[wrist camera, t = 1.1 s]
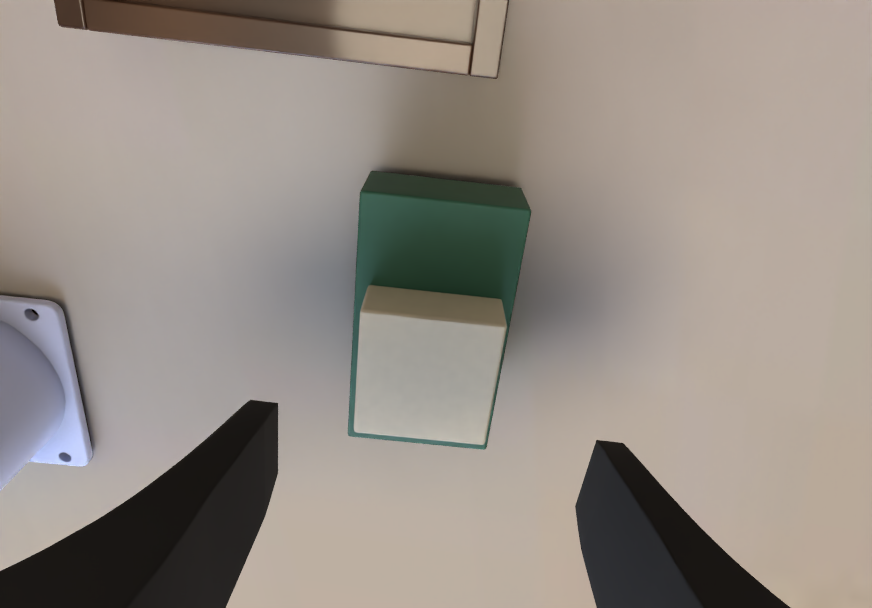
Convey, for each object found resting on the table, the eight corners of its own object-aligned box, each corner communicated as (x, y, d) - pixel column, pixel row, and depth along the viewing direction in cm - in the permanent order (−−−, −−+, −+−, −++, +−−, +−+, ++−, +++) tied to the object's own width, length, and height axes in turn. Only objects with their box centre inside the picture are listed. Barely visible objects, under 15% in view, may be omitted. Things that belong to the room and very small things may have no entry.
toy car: (481, 395, 23) (489, 487, 19) (360, 382, 23) (338, 472, 19) (519, 180, 19) (541, 230, 15) (373, 163, 19) (350, 208, 15)
